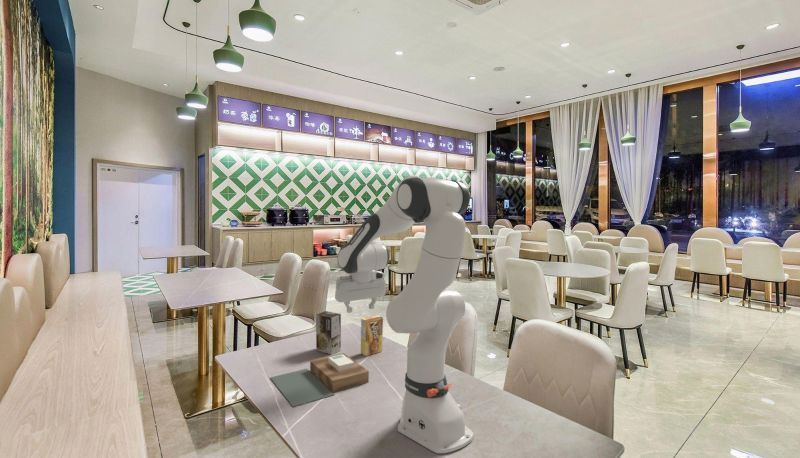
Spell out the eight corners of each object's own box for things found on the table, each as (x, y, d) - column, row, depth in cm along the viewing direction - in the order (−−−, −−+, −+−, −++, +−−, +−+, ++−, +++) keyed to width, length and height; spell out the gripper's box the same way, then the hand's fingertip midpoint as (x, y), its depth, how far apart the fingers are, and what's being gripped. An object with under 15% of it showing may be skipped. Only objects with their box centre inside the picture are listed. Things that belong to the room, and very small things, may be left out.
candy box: (377, 348, 173) (377, 314, 172) (382, 351, 170) (383, 316, 168) (360, 353, 167) (360, 318, 166) (365, 356, 164) (366, 320, 163)
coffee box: (341, 350, 170) (341, 313, 169) (331, 355, 165) (331, 317, 164) (325, 345, 175) (325, 310, 174) (315, 350, 170) (315, 313, 169)
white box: (353, 367, 143) (354, 362, 143) (339, 371, 140) (339, 366, 140) (342, 359, 151) (342, 354, 151) (328, 362, 147) (328, 357, 147)
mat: (334, 395, 131) (334, 394, 131) (293, 407, 123) (293, 406, 123) (306, 369, 151) (306, 368, 151) (270, 378, 143) (270, 377, 143)
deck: (368, 381, 141) (368, 371, 141) (332, 392, 133) (332, 380, 133) (343, 362, 157) (343, 353, 157) (310, 370, 149) (310, 360, 149)
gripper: (340, 278, 139) (339, 316, 140) (388, 273, 150) (387, 308, 152) (332, 275, 144) (331, 312, 145) (379, 270, 155) (378, 304, 157)
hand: (360, 310), depth 148 cm, fingers open, 8 cm apart
